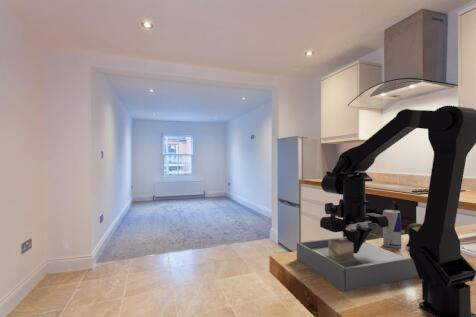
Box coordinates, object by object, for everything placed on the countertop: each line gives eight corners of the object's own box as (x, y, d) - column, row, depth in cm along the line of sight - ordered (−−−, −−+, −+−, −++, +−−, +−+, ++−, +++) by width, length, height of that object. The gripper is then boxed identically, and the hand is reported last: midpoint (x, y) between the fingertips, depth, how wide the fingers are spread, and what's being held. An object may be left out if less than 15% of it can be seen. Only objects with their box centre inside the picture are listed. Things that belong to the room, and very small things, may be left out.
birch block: (353, 259, 66) (353, 242, 66) (339, 261, 64) (339, 244, 64) (341, 253, 70) (341, 237, 70) (328, 255, 69) (328, 239, 69)
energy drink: (405, 247, 83) (404, 212, 83) (392, 248, 82) (391, 213, 82) (392, 242, 88) (391, 209, 89) (379, 243, 87) (379, 210, 87)
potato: (446, 246, 84) (445, 223, 84) (423, 252, 79) (423, 227, 79) (420, 239, 92) (419, 218, 92) (397, 244, 87) (397, 221, 87)
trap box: (424, 275, 62) (424, 256, 63) (343, 292, 55) (342, 269, 55) (363, 249, 81) (363, 234, 81) (296, 259, 74) (296, 242, 74)
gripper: (359, 192, 79) (359, 240, 79) (308, 194, 73) (309, 246, 73) (389, 196, 68) (390, 252, 68) (333, 200, 63) (333, 261, 62)
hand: (354, 252), depth 68 cm, fingers closed
